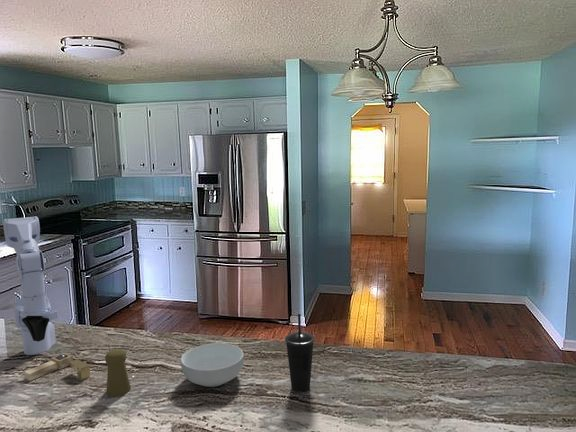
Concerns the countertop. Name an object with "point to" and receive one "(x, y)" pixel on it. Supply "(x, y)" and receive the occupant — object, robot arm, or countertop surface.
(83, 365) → the keeper
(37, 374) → the link
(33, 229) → the robot arm
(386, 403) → the countertop surface
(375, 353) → the countertop surface
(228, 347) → the cereal bowl
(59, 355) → the cylinder
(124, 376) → the pepper mill
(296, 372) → the drinking cup
